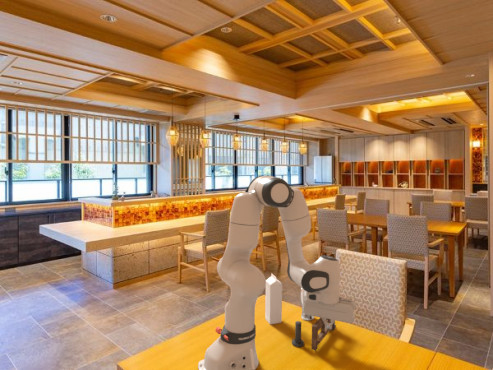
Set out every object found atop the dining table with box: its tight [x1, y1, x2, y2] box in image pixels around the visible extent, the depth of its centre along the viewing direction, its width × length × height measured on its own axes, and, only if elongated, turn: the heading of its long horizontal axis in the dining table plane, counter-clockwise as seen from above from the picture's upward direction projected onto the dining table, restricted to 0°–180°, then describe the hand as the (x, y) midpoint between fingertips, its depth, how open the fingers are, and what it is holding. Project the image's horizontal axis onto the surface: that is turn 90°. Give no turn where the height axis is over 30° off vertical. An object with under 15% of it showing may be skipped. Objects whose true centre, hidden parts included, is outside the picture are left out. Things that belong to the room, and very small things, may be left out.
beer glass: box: [300, 287, 315, 322], centre depth 159 cm, size 7×7×15 cm
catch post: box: [291, 320, 305, 348], centre depth 136 cm, size 5×5×9 cm
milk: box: [264, 272, 283, 325], centre depth 155 cm, size 6×6×22 cm
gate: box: [311, 317, 333, 352], centre depth 138 cm, size 20×3×10 cm, turn 146°
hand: (328, 328), depth 135 cm, fingers closed
